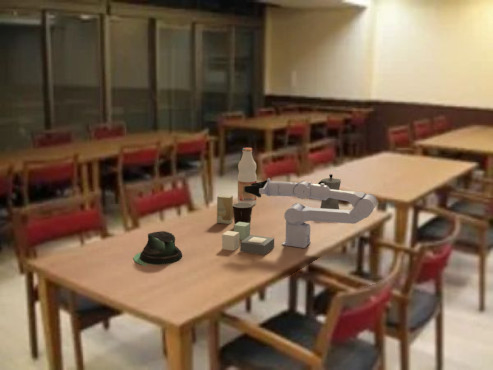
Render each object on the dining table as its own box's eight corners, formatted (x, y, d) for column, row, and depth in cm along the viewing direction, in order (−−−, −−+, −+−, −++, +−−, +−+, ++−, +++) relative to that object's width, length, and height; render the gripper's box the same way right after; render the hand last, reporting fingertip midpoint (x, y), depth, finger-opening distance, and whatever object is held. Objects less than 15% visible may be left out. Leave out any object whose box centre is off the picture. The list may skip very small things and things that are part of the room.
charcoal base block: (274, 247, 230) (274, 237, 229) (264, 255, 221) (264, 245, 220) (250, 244, 234) (250, 234, 233) (240, 252, 225) (240, 241, 224)
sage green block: (250, 237, 242) (250, 223, 240) (245, 240, 237) (245, 226, 236) (238, 235, 243) (239, 221, 242) (233, 239, 239) (233, 224, 238)
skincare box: (216, 223, 260) (216, 196, 258) (219, 220, 264) (219, 194, 262) (230, 224, 259) (230, 197, 256) (233, 221, 263) (233, 195, 260)
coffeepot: (331, 206, 289) (333, 171, 285) (346, 210, 282) (347, 174, 277) (309, 212, 279) (310, 175, 275) (324, 216, 272) (325, 178, 268)
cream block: (239, 246, 230) (239, 232, 228) (233, 250, 225) (233, 235, 224) (227, 245, 231) (227, 230, 230) (222, 249, 227) (222, 234, 226)
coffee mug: (239, 223, 260) (239, 201, 258) (256, 226, 256) (256, 204, 254) (224, 230, 251) (224, 207, 248) (242, 233, 246) (242, 210, 244)
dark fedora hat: (191, 249, 227) (191, 226, 225) (182, 268, 207) (181, 243, 205) (141, 248, 228) (140, 225, 226) (127, 266, 209) (126, 241, 207)
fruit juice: (233, 203, 294) (233, 148, 287) (247, 200, 300) (247, 146, 294) (246, 207, 287) (247, 150, 281) (260, 203, 293) (260, 148, 287)
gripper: (285, 176, 237) (254, 175, 242) (274, 181, 223) (241, 180, 228) (285, 193, 238) (254, 192, 243) (274, 199, 224) (241, 198, 229)
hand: (248, 187), depth 235 cm, fingers open, 7 cm apart
